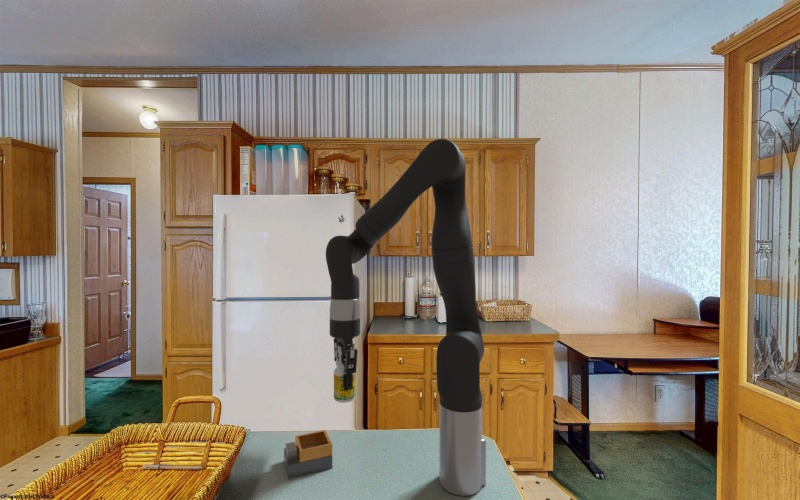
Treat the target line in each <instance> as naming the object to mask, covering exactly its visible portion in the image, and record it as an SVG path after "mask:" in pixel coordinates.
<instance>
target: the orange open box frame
mask: <svg viewBox="0 0 800 500" xmlns="http://www.w3.org/2000/svg"><path fill="white" fill-rule="evenodd" d="M283 463H284V467H285V468H284V469H285V473H286V478H287V480H291V479H294V478H298V477H302V476H307V475H311V474H314V473H318V472H321V471H327V470H330V469H333V443H332V440H331V439H330V437H329V435H328V432H327V430H326V429H324V430H318V431H314V432H313V431H312V432H308V433H303V434H299V435H294V441H292V442H291V441H290V442H288V443H285V447H283Z"/></svg>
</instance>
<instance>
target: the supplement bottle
mask: <svg viewBox="0 0 800 500" xmlns="http://www.w3.org/2000/svg"><path fill="white" fill-rule="evenodd" d="M343 360H346V359H343ZM336 365H337V366H336ZM335 366H336V368H334V371H333V400H335V402H337V403H341V404H342V403H350V402H352V401H354V400H355V399H356V389H357V388H356V380H357V379H356V377H357V375H356V373H357V372H356V373H353V388H352V389H349V390H344V389H343V367H342V365H341V364H340V359H337V361H335ZM348 368H351V367H350V365H349V366H348Z"/></svg>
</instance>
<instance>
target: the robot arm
mask: <svg viewBox="0 0 800 500" xmlns="http://www.w3.org/2000/svg"><path fill="white" fill-rule="evenodd" d="M466 165H467V164H466V159H465V156H464V155H463V153H462V151H461V150H460V148H459V147H458V146H457V144H455V143H454V142H453V141H451V140H450V139H446V138H438V139H434V140H432V141H430V142H429V143H428V144H426V146H424V148H423V149H422V150H421V151H420V153H419V154H418V155H417V157H416V158H415V159H414V160H413V161H412V163H411V164H410V165H409V166H408V168H407V169H406V171H404V173H403V174H402V175H401V176H400V177H399V179H398V180H396V182H395V183H394V184H393V185H392V186H391V188H390V189H389V190H388V191H387V192H386V193H385V194H384V195H383V196H382V197H381V198H380V199H379V200H378V201H377V202H375V203H374V204H373V205H372V206H371V207H370V208H369V209H368V210H366V211H365V213H364V214H362V215H361V216H360V217H359V218H358V219H357V221H356V222H355V229H354V230H353V232H351V234H349V235H336V236H333V237H331V238H330V239H329V241H328V242H327V245H326V248H325V261H326V266H327V269H328V271H327V272H328V275H329V278H330V282H331V284H330V304H329V336H330V337H331V338H333V354H334V355H333V357H334V358H333V360H334V362H336V361H337V359H340V364H341V365H342V367H343V389H344V390H349V389H352V388H353V373H357V365H358V348H356V346H355V343H354V341H353V340H354V338H357V337H359V336H360V334H361V301H360V279H359V278H360V277H358V275H356V274H355V273H354V269H353V268H354V267H353V264H356V263H358V262H359V261H361V260H362V259H363V258H364V257H365V256H366V255H367V254H368V253H369V252H370V251H371V250H372V248H373V247H374V246H375V244H376V243H377V242H378V241H379V240H380V239H382V237H384V236H385V235H386V234H387V233H388V232H389V231H391V230H392V229H393V228H395V226H396V225H397V224H398V223H399V222H400V220H401V219H402V218H403V217H404V215H405V214H406V213H407V211H408V210H409V209H410V208H411V206H412V204H413V203H414V202H415V201H416V200H417V199H418V198H419V197H420V196H421V195H422V194H423V193H424V192H426V191H427V190H429V189H430V188H432V193H433V201H434V218H433V225H432V230H431V256H432V264H433V265H432V268H433V272H434V277H435V281H436V283H437V287H438V289H439V292H440V295H441V297H442V301H443V304H444V308H445V309H444V310H445V311H444V312H445V335H444V336H443V338H441V340H440V341H439V343H438V344H437V349H436V356H435V357H436V359H435V360H436V361H435V363H436V365H435V366H436V389H437V393H438V397H439V450H438V451H439V460H438V461H439V473H438V474H439V483H440V485H441V488H443V489H444V490H445V491H447V492H449V493H451V494H452V495H456V496H462V497H463V496H464V497H465V496H472V495H475V494H477V493H479V491H480V490H481V489H482V488H483V486H485V485H487V442H486V439H485V438H483V394H482V391H481V385H480V383H481V380H480V374H481V373H480V372H481V371H480V368H481V367H480V366H481V365H480V364H481V361H482V360H483V357H484V354H485V353H484V352H485V343H484V340H483V338H484V337H483V334H482V330H481V325H480V321H479V315H478V309H477V295H476V293H477V292H476V290H477V288H476V287H477V285H476V269H475V265H476V264H475V258H474V248H473V247H474V245H473V238H472V232H471V225H470V220H469V215H468V214H469V213H468V211H467V203H466V201H467V200H466V173H467V172H466V171H467V170H466V169H467V167H466ZM343 359H346V360H343ZM349 365H350V367H351V368H348V366H349ZM335 366H336V367H337V365H336V364H335Z"/></svg>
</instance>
